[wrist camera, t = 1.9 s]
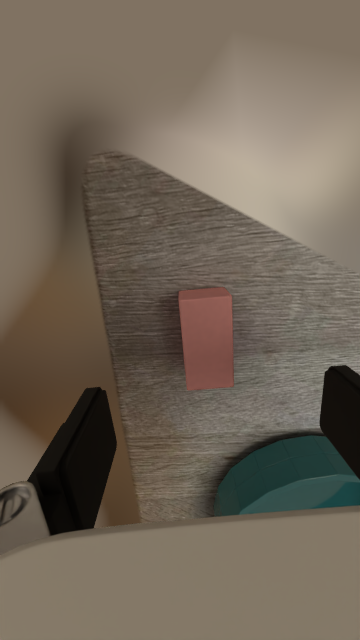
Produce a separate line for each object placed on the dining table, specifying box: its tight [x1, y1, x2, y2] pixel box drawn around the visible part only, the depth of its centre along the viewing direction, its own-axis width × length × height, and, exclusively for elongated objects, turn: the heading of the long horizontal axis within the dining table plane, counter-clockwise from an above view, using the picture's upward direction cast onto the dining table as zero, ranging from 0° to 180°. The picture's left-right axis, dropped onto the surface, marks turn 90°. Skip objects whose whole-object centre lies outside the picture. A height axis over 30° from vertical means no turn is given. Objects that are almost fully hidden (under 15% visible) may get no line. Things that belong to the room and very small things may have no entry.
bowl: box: [214, 435, 360, 517], centre depth 21 cm, size 15×15×4 cm
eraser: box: [179, 287, 234, 390], centre depth 16 cm, size 6×3×2 cm, turn 5°
